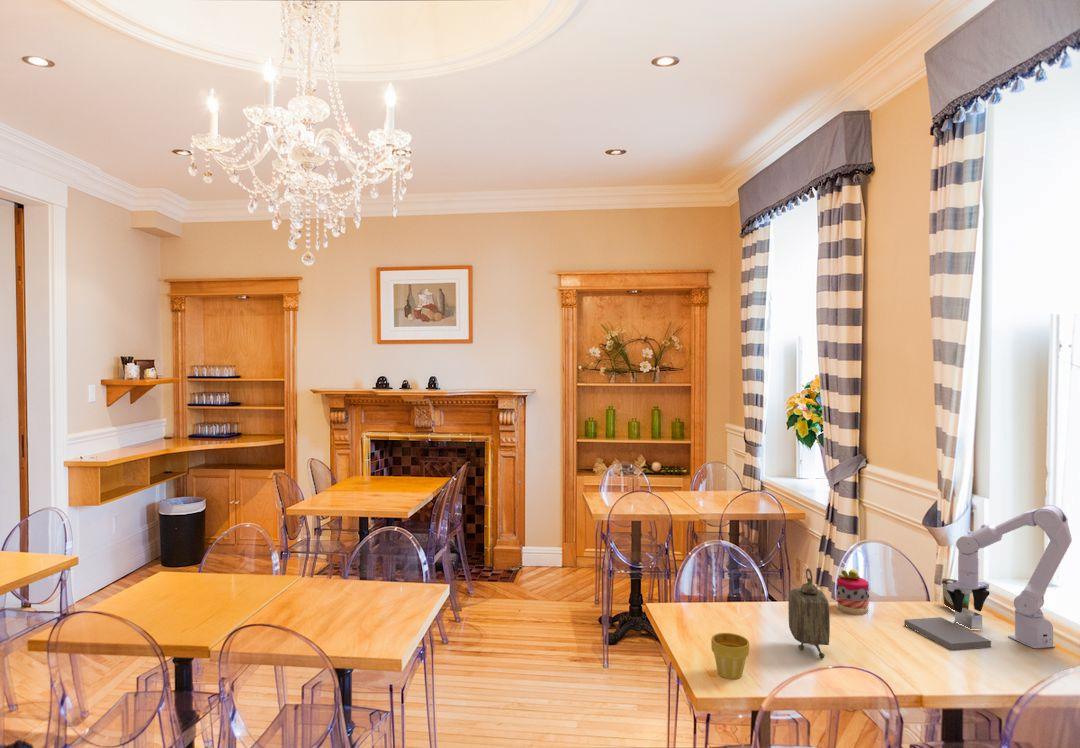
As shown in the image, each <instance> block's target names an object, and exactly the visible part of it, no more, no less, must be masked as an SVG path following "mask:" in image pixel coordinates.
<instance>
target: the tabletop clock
mask: <svg viewBox="0 0 1080 748" xmlns="http://www.w3.org/2000/svg"><path fill="white" fill-rule="evenodd" d="M808 574H809V575H810V578H809V576H808ZM805 576H806V577H805V579H806V581H807V583H804V584H802V585H801V587H800V588H793V589H791V590H790V591H788V606H787V607H788V627H789V630H790V634H791V635H792V637H793V638H794V639H795V640H796V641H797V642H799V643H800V644H799V645H798V649H799V650H800V651H804V650H805V646H804V644H807V645H808V644H809V645H814V647H815V648H816V650H817V651H818V652H819V654H818V657H819V658H820V659H825V657H826V655H825V653H823V652H822V650H821V648H820V646H819V645H821V646H823V645H824V646H829V645H830V634H831V632H830V629H831V627H830V626H831V624H830V622H831V620H830V619H831V618H830V617H831V616H830V615H831V614H830V603H829V601H828V598H827V596H826V595H825V593H824V592H823V591H822V590H821V589H818V587H817V586H816V585H815V584H813V574H812V571H811V569H810V568H809V567H808V568H806V570H805Z"/></svg>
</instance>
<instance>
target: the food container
mask: <svg viewBox="0 0 1080 748" xmlns="http://www.w3.org/2000/svg"><path fill="white" fill-rule="evenodd" d="M957 580H958V579H953V578H944V577H943V578H942V579H941V585H942V597H943V605H944V604H945V605H946V606H948V607H950V608H951V609H953V610H955V609H954V605H953V602H952V599H951V597H950V595H949V593H948V592H947V584H951V583H955V582H957ZM960 591H961V593H963V594H965V596H964V599H963V603H962V608H966V609H969V606H970V595H971V594H973V593H972V590H960Z"/></svg>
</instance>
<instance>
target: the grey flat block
mask: <svg viewBox="0 0 1080 748" xmlns="http://www.w3.org/2000/svg"><path fill="white" fill-rule="evenodd" d="M905 625H907V626H908V627H910V628H912V629H914V630H916V631H918V632H919V633H918V632H917V633H918V634H920V633H921V634H920V635H922V634H923V635H924V637H925V636H927V637H928V638H927V637H926V638H927V639H929V638H930V640H931V639H932V640H931V641H933V640H934V642H935V641H936V642H935V643H937V642H938V643H937V644H939V645H941V646H943V647H944V646H945V647H944V648H947V649H949V650H950V651H957V650H958V651H959V650H972V649H982V648H983V649H984V648H985V649H986V648H992V641H991V640H990V639H988V638H985V636H982V635H980V634H977V633H976V632H974V631H971V630H969V629H967V628H965V627H963V626H960V625H958V624H956V623H955V622H952V621H951V620H947V619H946V618H943V617H940V616H939V617H927V618H926V617H925V618H924V617H923V618H912V619H911V618H909V619H904V626H905ZM908 627H907V628H908ZM910 628H909V629H910ZM912 629H911V630H912ZM914 630H913V631H914ZM916 631H915V632H916ZM923 635H922V636H923Z"/></svg>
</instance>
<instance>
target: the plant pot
mask: <svg viewBox="0 0 1080 748" xmlns="http://www.w3.org/2000/svg"><path fill="white" fill-rule="evenodd" d="M710 640H711V643H710V644H711V651H712V652H713V655H714V659H715V660H714V661H715V665H716V671H717V674H718V675H719V676H720V677H721V678H724V679H728V680H739V679H741V678H742V677H743V673H744V668H745V664H746V659H747V657H749V655H750V640H749V639H748V638H746V637H745V636H742V635H740V634H736V633H733V632H719V633H715V634H713V635H712V637H711V639H710Z"/></svg>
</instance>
